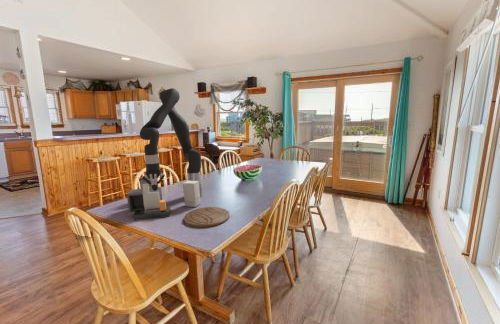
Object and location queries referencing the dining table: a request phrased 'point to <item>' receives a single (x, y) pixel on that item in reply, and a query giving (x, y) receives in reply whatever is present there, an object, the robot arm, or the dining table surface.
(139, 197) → the dark grey stand
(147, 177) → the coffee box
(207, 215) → the trivet
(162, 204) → the fader
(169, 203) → the dining table surface
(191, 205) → the skincare box
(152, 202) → the sliding door
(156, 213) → the console
